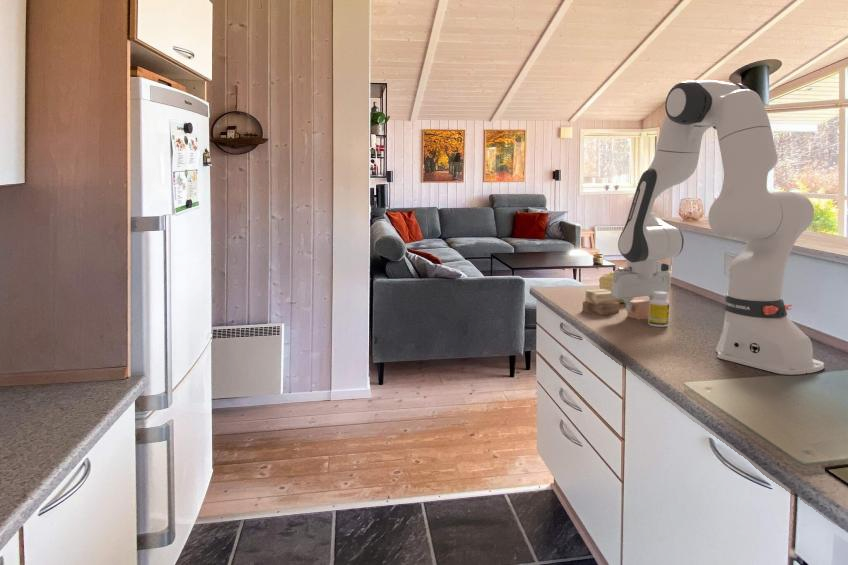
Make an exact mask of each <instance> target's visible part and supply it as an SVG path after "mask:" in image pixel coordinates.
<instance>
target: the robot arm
mask: <svg viewBox="0 0 848 565" xmlns="http://www.w3.org/2000/svg"><path fill="white" fill-rule="evenodd" d="M664 110H665V114H666V115H665V117H664V119H663V122H662V125H661V127H660V132H659V135H658V138H657V141H656V142H657V143H656V149H655V153H654V154H655V155H654V157H653V159H652V162H651V163H650V165H649V167H648V168H647V170H645V171H644V172H643V173H642V174H641V176H640V178H639V181H638V184H637V185H636V188H635V193H634V195H633V196H634V197H633V199H632V201H631V202H632V203H631V205H630V208H629V213H628V215H627V219H626V222H625V225H624V227H623V228H622V231H621V233H620V235H619V238H618V241H617V242H618V243H617V247H618V252H619V253H620V255H621V256H622V257H623V258H624V259H625V260H626V267H619V268H617V269H616V270H614V271H615V272H614V274H613V281H612V286H611V295H612V297H614V298H618V299H623V301H624V302H623V303H624V305H625V310H626V312H627V313H628V312H632V311H634V306H632V305H631V303H630V301H632V300H633V299H632V297H634V298H641V297H647V296H648V298H649V299H648V300H647V301H648V302H650V300H651V299H653V297H652V295H653V292H654V291H663V292H667V295H668V293H669V292H670V291H671V284H672V277H671V276H672V274H671V273H670V271H671V269H672V264H669V263H666V262H663V261H660V260H666V259H667V260H669V259H673V258H677V257H678V256H679V255H680V254H681V253H682V251H683V249H684V244H685V241H684V235H683V233H682V231H681V230H680V228H678V227H676V226H672V225H671V224H669V223H667V222H665V221H664V220H663V219H661V217H660V215H659V214H658V213H656V212H652V209H653V207H654V204H655V201H656V199H657V198H658V197H659V195H661V194H662V193H663V192H665V191H667V190H669V189H670V188H673V187H675V186H677V185H680V184H681V183H684V182H685V181H687V180H688V179H689V178H690V177H691V176H692V175H693V174H694V173H695V171H696V170H697V167H698V163H699V158H700V152H701V148H702V147H701V145H702V139H703V136H704V133H706V131H707V130H709V129H710V128H713V129H714V130H716V134H717V140H718V145H719V150H720V156H721V164H722V168H723V169H722V171H723V179H722V180H723V181H722V186H721V191H720V193H719V195H718V196H717V198H716V199H714V201H713V203H712V204H711V206H710V208H709V211H708V215H707V216H708V218H707V219H708V224H709V227H710V228H711V230H712V232H713V233H714V234H715V235H717V236H718V237H721V238H725V239H731V240H735V241H746V240H747V241H746V244H745V246H744V247H743V249H742V251H741V252H740V254H738V255H737V256H736V257H735V258H734V259H733V260H732V261H731V263H730V266H729V273H728V274H729V276H728V286H727V287H728V288H727V294H726V295H725V299H724V310H725V316H724V321H723V326H722V331H721V335H720V338H719V340H718V343H717V346H716V348H715V351H716V353H717V358H718V359H721V360H725V361H728V362H732V363H737V364H740V365H744V366H747V367H752V368H756V369H759V370H764V371H766V372H772V373H774V374H779V375H791V376H793V375H804V374H806V373H807V374H812V373H816V372H819V371H822V370H823V369H824V368H825V363H824V362H823V361H820V360H819V359H815V358H813V357H814V354H813V352H814V351H813V344H812V340H811V339H810V337H809V336H807V335H806V333H805V332H803V331H802V330H801V329H800V327H798V326H797V325H796V324H795V323H794V322H793V321H792V320H791V319H790V318H789V317H788V316H787V315H788V312H787V311H789V310H792V308H791V307H792V306H793V304H785V302H784V300H783V298H782V293H783V292H782V290H783V283H784V277H785V276H784V275H785V269H786V265H787V262H788V259H789V256H790V255H791V254H790V253H791V252H792V250H793V248H794V245H795V243H796V241H797V240H798V239H799V237H800V236H801V235H802V234H803V233H804V232H805V231H806V230H807V229H808V228H809V227H811V225H812V222H813V221H814V216H815V209H814V206H813V203H812V201H811V200H810V199H809V198H808V197H807V196H805V195H803V194H800V193H796V192H792V191H787V190H775V191H774V190H773V191H772V190H770V191H769V190H768V188H767V187H768V186H767V181H768V177H769V176H768V175H769V173H770V172H771V170H773V169H774V168H775V166H776V165H777V162H778V154H777V151H776V145H775V140H774V135H773V131H772V130H773V129H772V126H771V122H770V119H769V115H768V113H767V110H766V107H765V105H764V103H763V101H762V99H761V96H760V95H759V93H757V92H756V91H754V90H753V89H750V88H749V87H748V86H746V85H744V84H741V83H737V82H726V81H720V80H719V81H718V80H714V79H712V80H711V79H705V80H704V79H703V80H691V79H690V80H685V81H681V82H679V83H676V84H674V85H673V86H672V88H671V89H670V90H669V92H668V94H667V96H666V99H665V109H664ZM617 271H619V272H617ZM789 307H790V308H789Z"/></svg>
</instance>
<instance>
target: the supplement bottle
mask: <svg viewBox="0 0 848 565" xmlns="http://www.w3.org/2000/svg"><path fill="white" fill-rule="evenodd" d="M652 297H653V299H651V300H650V302H649V317H648V319H647V320H648V321H647V323H648V325H649V326H651V327H656V328H658V327H659V328H665V327H668V325H669V313H670V301H669V300H668V299H667V298H668V294H667V292H663V291H654V292H653V295H652Z"/></svg>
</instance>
